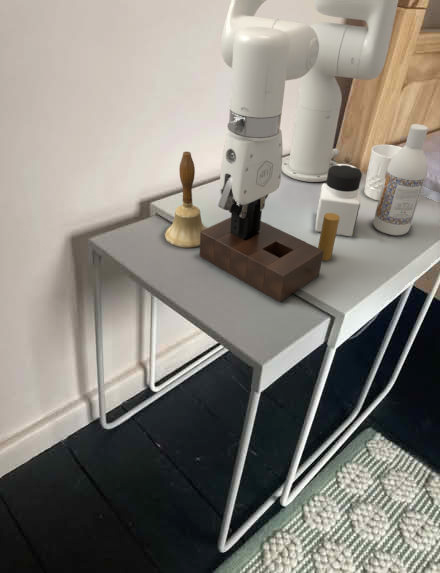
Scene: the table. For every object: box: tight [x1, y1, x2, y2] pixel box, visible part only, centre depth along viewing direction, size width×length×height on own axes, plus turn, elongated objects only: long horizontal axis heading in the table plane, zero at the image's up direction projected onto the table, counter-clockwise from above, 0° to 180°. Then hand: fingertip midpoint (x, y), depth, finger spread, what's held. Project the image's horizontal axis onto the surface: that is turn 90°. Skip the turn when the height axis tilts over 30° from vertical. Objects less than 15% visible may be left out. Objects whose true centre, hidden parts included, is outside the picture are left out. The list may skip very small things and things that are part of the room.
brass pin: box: [317, 213, 340, 262], centre depth 86 cm, size 3×3×8 cm
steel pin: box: [238, 201, 255, 241], centre depth 83 cm, size 3×3×8 cm
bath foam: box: [372, 123, 429, 236], centre depth 92 cm, size 7×7×20 cm
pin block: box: [199, 216, 324, 303], centre depth 83 cm, size 18×11×5 cm, turn 47°
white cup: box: [363, 144, 403, 201], centre depth 107 cm, size 8×8×10 cm
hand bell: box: [164, 151, 207, 249], centre depth 87 cm, size 8×8×16 cm
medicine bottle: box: [314, 163, 363, 237], centre depth 94 cm, size 7×7×12 cm
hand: (245, 231), depth 83 cm, fingers closed on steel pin, 2 cm apart
